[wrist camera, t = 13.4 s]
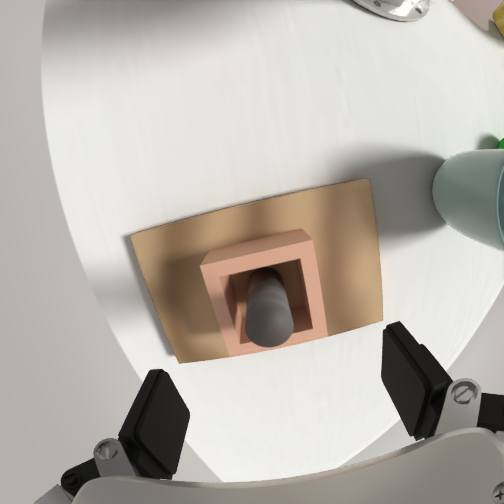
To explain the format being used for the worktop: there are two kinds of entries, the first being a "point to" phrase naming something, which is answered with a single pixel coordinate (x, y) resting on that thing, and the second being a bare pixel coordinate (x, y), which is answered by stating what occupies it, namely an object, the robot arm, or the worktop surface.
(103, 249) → the worktop surface
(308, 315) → the collar
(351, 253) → the post board
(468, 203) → the cup
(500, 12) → the plant pot
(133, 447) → the robot arm
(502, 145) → the polyhedron
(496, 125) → the worktop surface
